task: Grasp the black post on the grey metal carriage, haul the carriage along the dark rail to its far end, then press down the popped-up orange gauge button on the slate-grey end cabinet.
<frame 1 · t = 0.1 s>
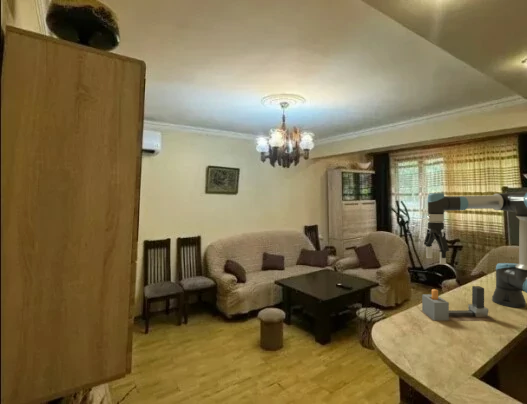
hand: (435, 261, 161), 28 cm above the worktop, fingers open, 13 cm apart
base board: (456, 316, 155), on the worktop
rail: (462, 315, 154), resting on base board
gauge button: (434, 297, 155), point 10 cm above the worktop, slide at 0.0 cm
carriage: (478, 301, 154), point 8 cm above the worktop, slide at 0.0 cm
end cabinet: (434, 315, 155), resting on base board
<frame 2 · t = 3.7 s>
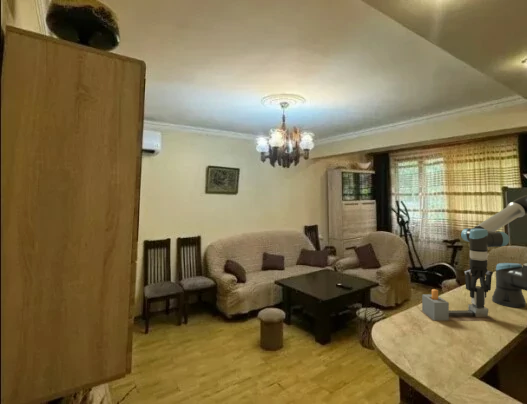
hand: (478, 303, 154), 7 cm above the worktop, fingers closed on carriage, 4 cm apart
carriage: (478, 301, 154), point 8 cm above the worktop, slide at 0.0 cm, touching gripper
everything else where it was.
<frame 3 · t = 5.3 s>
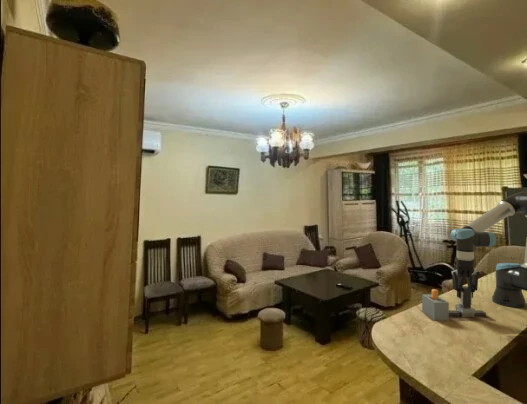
hand: (464, 303, 154), 7 cm above the worktop, fingers closed on carriage, 4 cm apart
carriage: (464, 301, 154), point 8 cm above the worktop, slide at 6.7 cm, touching gripper
everything else where it was.
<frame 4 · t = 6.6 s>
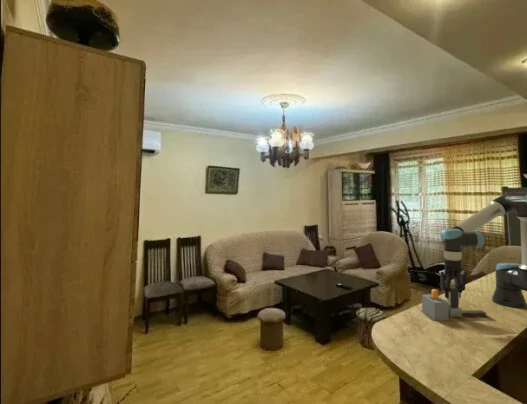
hand: (452, 303, 154), 7 cm above the worktop, fingers closed on carriage, 4 cm apart
carriage: (452, 301, 154), point 8 cm above the worktop, slide at 12.9 cm, touching gripper
everything else where it was.
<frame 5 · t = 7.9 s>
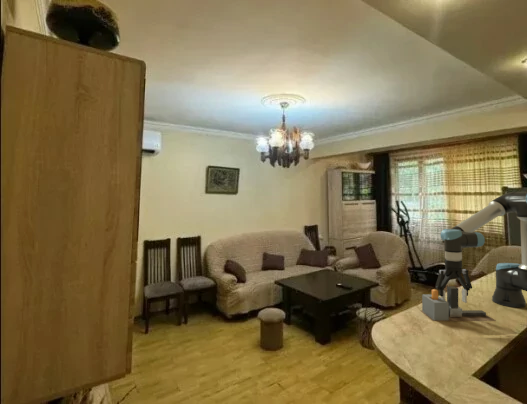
hand: (453, 302, 154), 8 cm above the worktop, fingers open, 10 cm apart
gauge button: (434, 297, 155), point 10 cm above the worktop, slide at 0.1 cm, touching gripper
carriage: (452, 301, 154), point 8 cm above the worktop, slide at 13.0 cm
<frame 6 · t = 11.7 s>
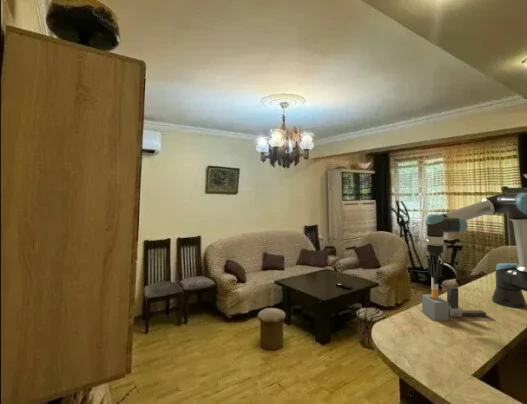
hand: (434, 289, 154), 14 cm above the worktop, fingers closed
nothing on the worktop moved.
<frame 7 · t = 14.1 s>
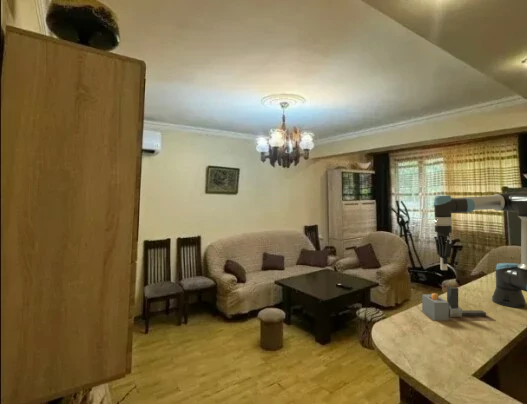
hand: (443, 269, 156), 24 cm above the worktop, fingers closed
gauge button: (434, 301, 155), point 8 cm above the worktop, slide at 2.1 cm
everything else where it was.
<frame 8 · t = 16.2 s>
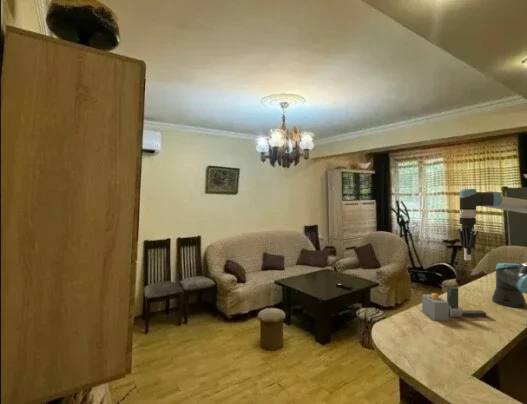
hand: (467, 260, 163), 27 cm above the worktop, fingers closed
nothing on the worktop moved.
at the end: carriage slide at 13.0 cm; gauge button slide at 2.1 cm; the gripper is holding nothing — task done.
